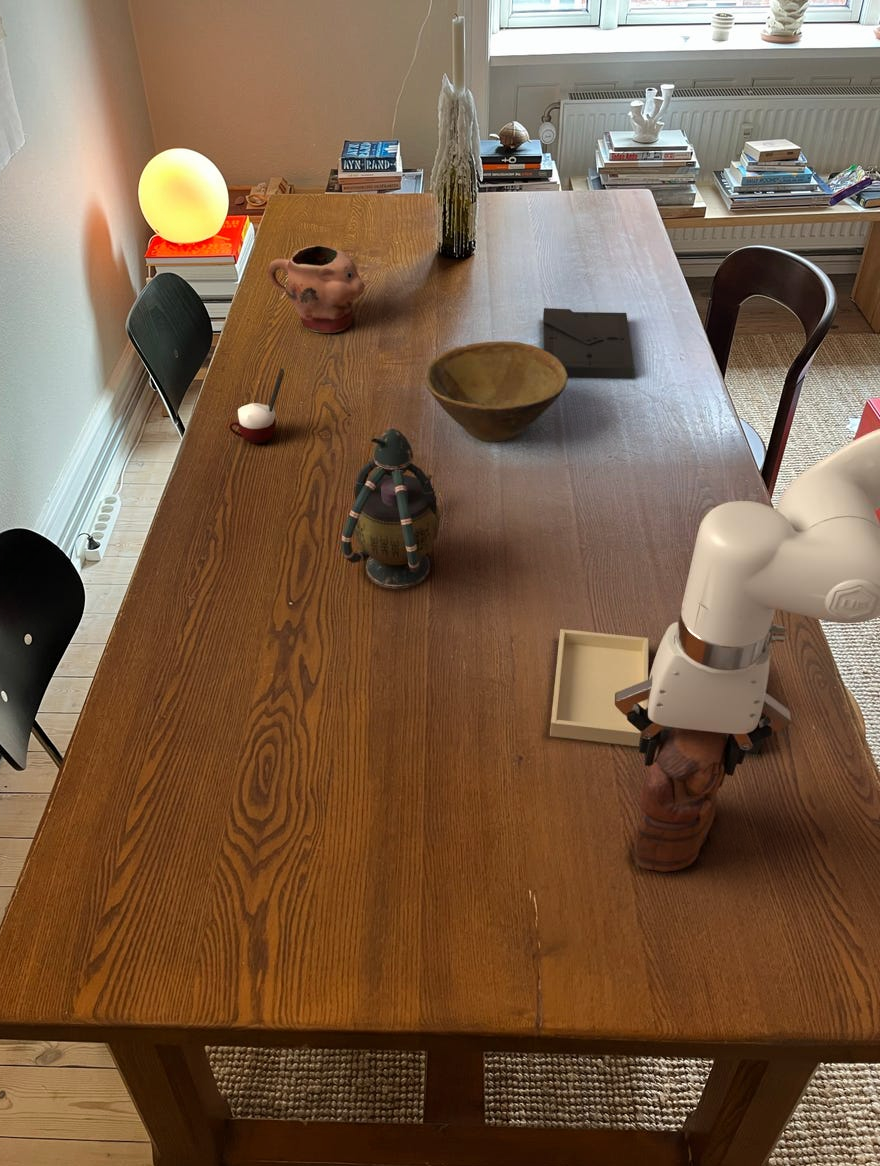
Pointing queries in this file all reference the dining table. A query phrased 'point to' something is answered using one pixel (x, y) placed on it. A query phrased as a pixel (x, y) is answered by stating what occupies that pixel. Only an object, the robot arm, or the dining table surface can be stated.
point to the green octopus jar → (392, 516)
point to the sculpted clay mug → (320, 287)
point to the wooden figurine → (680, 798)
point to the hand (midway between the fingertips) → (688, 758)
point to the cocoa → (258, 418)
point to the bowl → (496, 386)
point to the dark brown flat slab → (589, 343)
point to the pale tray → (596, 685)
